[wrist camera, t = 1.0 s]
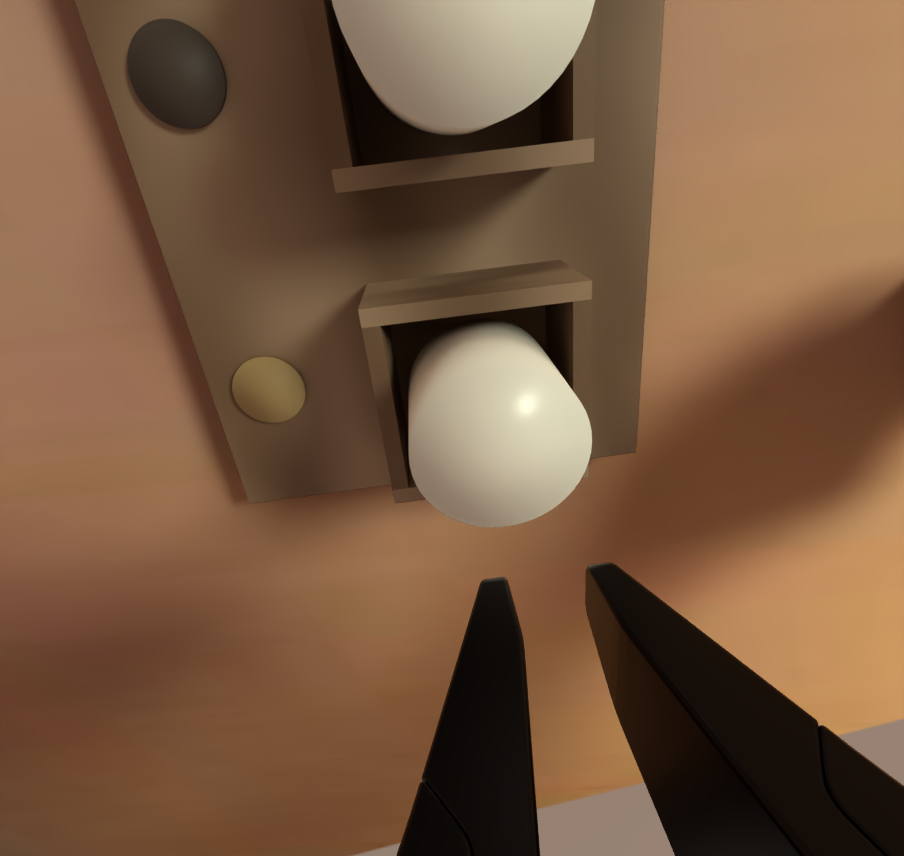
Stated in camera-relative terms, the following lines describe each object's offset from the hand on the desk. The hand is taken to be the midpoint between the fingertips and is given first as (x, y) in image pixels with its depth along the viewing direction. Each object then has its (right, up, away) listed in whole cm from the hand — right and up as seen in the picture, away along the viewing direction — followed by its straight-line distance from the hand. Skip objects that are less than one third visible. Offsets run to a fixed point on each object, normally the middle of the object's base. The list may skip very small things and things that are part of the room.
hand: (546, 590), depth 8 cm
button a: (-1, +4, +8) cm, 9 cm away
